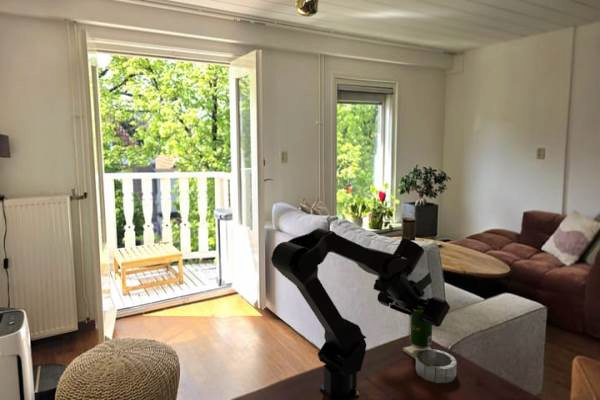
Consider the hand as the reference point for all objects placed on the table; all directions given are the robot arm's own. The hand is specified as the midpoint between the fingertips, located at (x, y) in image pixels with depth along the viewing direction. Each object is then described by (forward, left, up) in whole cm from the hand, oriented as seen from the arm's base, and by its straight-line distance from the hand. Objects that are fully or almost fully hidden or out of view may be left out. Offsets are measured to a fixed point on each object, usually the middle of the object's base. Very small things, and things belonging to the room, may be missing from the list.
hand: (425, 319), depth 108 cm
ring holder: (-4, -9, -9) cm, 13 cm away
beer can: (-1, 0, -7) cm, 7 cm away
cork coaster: (-1, 0, -9) cm, 9 cm away
